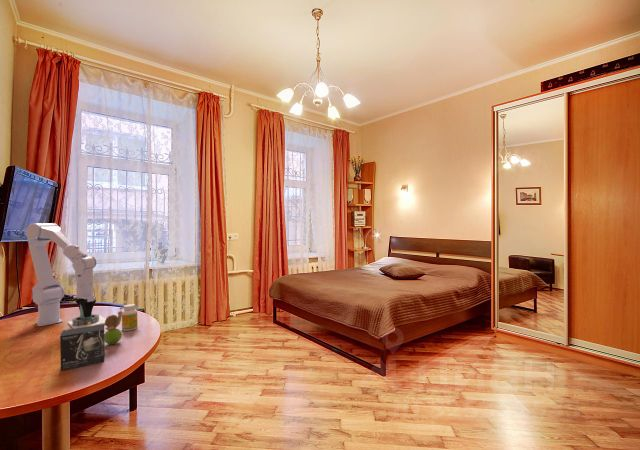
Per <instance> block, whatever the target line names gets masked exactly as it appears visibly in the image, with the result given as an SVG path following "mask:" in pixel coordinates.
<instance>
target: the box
mask: <svg viewBox="0 0 640 450" xmlns="http://www.w3.org/2000/svg"><path fill="white" fill-rule="evenodd" d="M104 334H105V325H104V324H101V325H95V326H88V327H81V328H75V329H73V328H69V329H63V330H62V332H61V333H60V336H59V338H60V340H59V341H60V342H59V344H60V345H59V346H60V347H59V348H60V350H59V352H60V355H59V356H60V371H61V372H62V371H68V370H72V369H77V368H82V367H86V366H91V365H95V364H96V365H97V364H100V363H101V364H102V363H104V361H105V357H106V351H105V350H106V347H105V346H106V345H105V343H106V342H105V339H104Z"/></svg>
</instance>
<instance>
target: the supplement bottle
mask: <svg viewBox="0 0 640 450" xmlns="http://www.w3.org/2000/svg"><path fill="white" fill-rule="evenodd" d="M137 328H138V310H137V309H136V304H135V303H128V304H124V305H123V310H122V317H121V330H122V331H123V332H128V331H134V330H136V329H137Z"/></svg>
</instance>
